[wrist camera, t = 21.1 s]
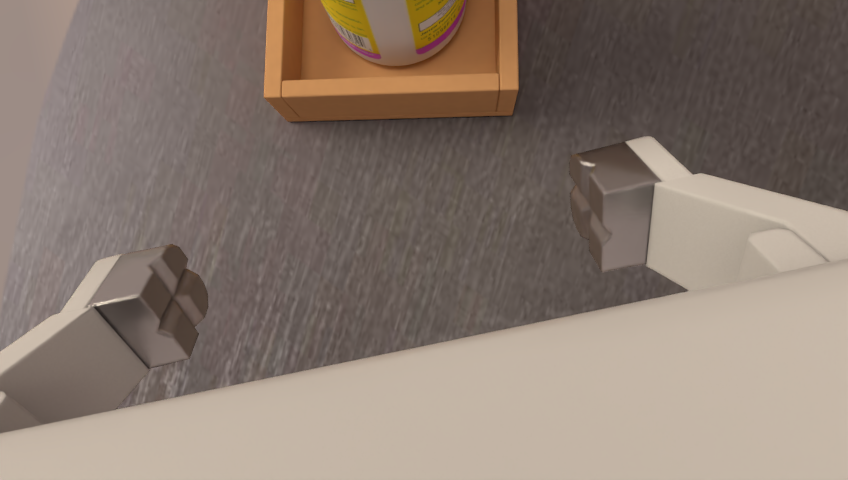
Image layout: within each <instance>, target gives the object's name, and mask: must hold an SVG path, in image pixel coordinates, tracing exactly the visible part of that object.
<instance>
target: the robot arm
mask: <svg viewBox="0 0 848 480" xmlns="http://www.w3.org/2000/svg"><path fill="white" fill-rule="evenodd" d="M569 175H570V176H571V178H572V179H573V181H574V182H575V184H576V185H575V186H574V188H573V189H572V191H571V192H570V204H571V211H572V216H573V221H574V223H575V226H576V228H577V230H578V232H579V234H580V236H581V237H583V238H585V239H587V240H589V252H590V253H591V255H592V257H593V258H594V260H595V262H596V263H597V265H598V267H599V269H600V270H601V272H606V271H612V270H617V269H623V268H628V267H633V266H639V265H644V264H646V266H647V267H649V268H651V269H652V270H654V271H656V272H658V273H659V274H661V275H663V276H665V277H666V278H668V279H670V280H672V281H673V282H675V283H677V284H679V285H680V286H682V287H684V288H686V289H687V290H689V291H688V292H683V293H678V294H673V295H668V296H663V297H658V298H654V299H649V300H644V301H639V302H634V303H629V304H625V305H620V306H615V307H610V308H605V309H600V310H596V311H591V312H586V313H581V314H576V315H571V316H567V317H562V318H557V319H552V320H547V321H542V322H538V323H533V324H528V325H523V326H518V327H513V328H509V329H504V330H499V331H494V332H489V333H484V334H480V335H475V336H470V337H465V338H460V339H455V340H450V341H446V342H441V343H436V344H431V345H426V346H421V347H417V348H412V349H407V350H402V351H397V352H392V353H388V354H383V355H378V356H373V357H368V358H363V359H359V360H354V361H349V362H344V363H339V364H334V365H329V366H325V367H320V368H315V369H310V370H305V371H300V372H296V373H291V374H286V375H281V376H276V377H271V378H266V379H262V380H257V381H252V382H247V383H242V384H237V385H233V386H228V387H223V388H218V389H213V390H208V391H203V392H199V393H194V394H189V395H184V396H179V397H174V398H170V399H165V400H160V401H155V402H150V403H145V404H140V405H136V406H131V407H126V408H121V409H117V407H118V406H119V405H120V404H121V403H122V402H123V401H124V399H125V398H126V397H127V396H128V395H129V394H130V393H131V391H132V390H133V389H134V388H135V387H136V386H137V385H138V383H139V382H140V381H141V380H142V379H143V378H144V377H145V375H146V374H147V373H148V372H149V371H150V370H149V369H150V368H154V367H159V366H163V365H167V364H171V363H175V362H179V361H184V360H188V359H190V356H191V354H192V351H193V348H194V346H195V343H196V340H197V338H198V335H199V333H198V332H197V330H196V329H195V326H197V325H198V324H199V323H200V322H201V321H202V320H203V319H204V318H205V315H206V312H207V309H208V293H207V290H206V287H205V285H204V283H203V281H202V280H201V278H200V276H199V275H198V274H196V273H194V272H192V271H190V270H188V269H186V267H187V262H188V258H187V257H186V256H185V254H184V253H183V251H182V250H181V249H180V247H178V246H175V245H173V244H170V245H165V246H160V247H155V248H150V249H145V250H140V251H135V252H130V253H126V254H120V255H115V256H111V257H107V258H104V259H101V260H98V261H96V263H95V264H94V265H93V267H92V268H91V270H90V271H89V273H88V274H87V275H86V277H85V278H84V280H83V281H82V283H81V284H80V285H79V287H78V288H77V290H76V291H75V292H74V294H73V295H72V297H71V298H70V300H69V301H68V302H67V304H66V305H65V307H64V308H63V309H62V311H61V312H60V314H56V315H52V316H50V317H49V318H48V319H46V320H45V321H43V322H42V323H40V324H39V325H38V326H36V327H35V328H33V329H32V330H31V331H29V332H28V333H26V334H25V335H24V336H22V337H21V338H19V339H18V340H16V341H15V342H14V343H12V344H11V345H9V346H8V347H7V348H5V349H4V350H2V351H1V352H0V480H848V211H845V210H841V209H837V208H833V207H829V206H826V205H822V204H818V203H814V202H810V201H806V200H802V199H799V198H795V197H791V196H787V195H783V194H779V193H776V192H772V191H768V190H764V189H760V188H756V187H753V186H749V185H745V184H741V183H737V182H733V181H730V180H726V179H722V178H718V177H714V176H710V175H707V174H703V173H699V174H695V175H693V174H692V173H690V172H689V171H688V170H687V169H686V168H685V167H684V166H683V165H682V164H681V163H680V162H679V161H678V160H676V159H675V158H674V157H673V156H672V155H671V154H670V153H669V152H668V151H667V150H666V149H665V148H664V147H663V146H661V145H660V144H659V143H658V142H657V141H656V140H655V139H654V138H653V137H650V136H645V137H641V138H637V139H634V140H630V141H626V142H622V143H618V144H614V145H610V146H606V147H602V148H598V149H594V150H590V151H586V152H582V153H578V154H574V155H571V157H570V162H569Z"/></svg>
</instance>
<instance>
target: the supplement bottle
mask: <svg viewBox="0 0 848 480" xmlns="http://www.w3.org/2000/svg"><path fill="white" fill-rule="evenodd" d="M466 1H467V0H321V2H322V4H323V6H324V8H325V10H326V12H327V14H328V16H329V18H330V20H331V22H332V24H333V26H334V27H335V29H336V31H337V32H338V34H339V36H340V37H341V39H342V40H343V41H344V43H345V44H346V45H347V46H348V47H349V48H350V49H351V50H352V51H354V52H355V53H356V54H358V55H359V56H361V57H362V58H364V59H366V60H368V61H370V62H374V63H377V64H381V65H387V66H405V65H410V64H414V63H417V62H420V61H423V60H425V59H427V58H429V57H431V56H433V55H434V54H436V53H437V52H438V51H440V50H441V49H442V48H443V47H444V46H445V45H446V44H448V42H449V41H450V40H451V39H452V37H453V36H454V35H455V33H456V32H457V30H458V28H459V26H460V24H461V22H462V19H463V16H464V13H465V9H466Z"/></svg>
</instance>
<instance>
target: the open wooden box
mask: <svg viewBox="0 0 848 480" xmlns="http://www.w3.org/2000/svg"><path fill="white" fill-rule="evenodd" d="M518 90H519V74H518V25H517V0H467V1H466V9H465V13H464V16H463V19H462V22H461V24H460V26H459V28H458V30H457V32H456V33H455V35H454V36H453V37H452V39H451V40H450V41H449V42H448V44H446V45H445V46H444V47H443V48H442V49H441V50H440V51H438V52H437V53H436V54H434V55H433V56H431V57H429V58H427V59H425V60H423V61H420V62H417V63H414V64H410V65H405V66H387V65H381V64H377V63H374V62H370V61H368V60H366V59H364V58H362V57H361V56H359V55H358V54H356V53H355V52H354V51H352V50H351V49H350V48H349V47H348V46H347V45H346V44H345V43H344V41H343V40H342V39H341V37H340V36H339V34H338V32H337V31H336V29H335V27H334V26H333V24H332V22H331V20H330V18H329V16H328V14H327V12H326V10H325V8H324V6H323V4H322V2H321V0H268V13H267V36H266V59H265V82H264V98H265V99H266V100H267V101H268V102H269V103H270V104H271V105H272V106H273V107H274V108H275V109H276V110H277V111H278V112H279V113H280V114H281V115H282V116H283V117H284V118H285V119H286V120H287V121H288V122H292V121H328V120H364V119H400V118H435V117H471V116H507V115H512V114H513V109H514V105H515V101H516V97H517V94H518Z"/></svg>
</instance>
